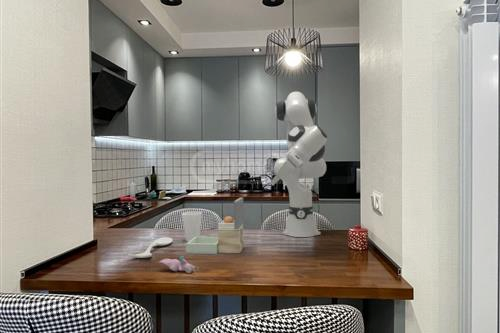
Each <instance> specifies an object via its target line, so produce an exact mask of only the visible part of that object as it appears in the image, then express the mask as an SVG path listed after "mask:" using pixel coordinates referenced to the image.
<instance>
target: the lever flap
mask: <svg viewBox="0 0 500 333" xmlns="http://www.w3.org/2000/svg"><path fill="white" fill-rule="evenodd" d="M244 208H245V207H244V197H239V198H237V199H235V200H234V201H233V223H224V220H221V222H218V224H217V225H218V228H217V230H218V231H219V230H240V229H241V228H242V227H243V228H244V226H243V225H244V224H245V218H244V217H245V214H244V213H245V212H244V211H245V210H244Z"/></svg>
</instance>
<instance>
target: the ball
mask: <svg viewBox="0 0 500 333" xmlns="http://www.w3.org/2000/svg"><path fill="white" fill-rule="evenodd" d="M223 221H224V223H233V221H234V217H232V216H230V215H228V216H225V217H224V218H223Z"/></svg>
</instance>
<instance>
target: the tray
mask: <svg viewBox="0 0 500 333" xmlns="http://www.w3.org/2000/svg"><path fill="white" fill-rule="evenodd" d="M185 254H187V255H188V254H197V255H199V254H200V255H201V254H204V255H217V254H218V236H200V237H194V238H193V239H192V240H190V241H187V242H186V243H185Z"/></svg>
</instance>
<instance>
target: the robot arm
mask: <svg viewBox="0 0 500 333" xmlns="http://www.w3.org/2000/svg"><path fill="white" fill-rule="evenodd" d="M317 111H318V107H317V104H316V101H315V100H314V99H313V98H312V99H311V98H306V96H305V95H304V94H303V92H300V91H292V92H290V93H289V94H288V96H287V97H286V99H285V100H280V101H278V102H277V103H276V104H275V107H274V115H275V117H276V119H277V120H278V121H281V122H285V121H289V122H288V124H287V128H286V144H287V145H286V146H287V151H286V153H285V154H284V156H285V157H281V158H278V159H276V160H275V163H274V166H273V170H274V173H275V176H274V177H273V178H272V180H271V181H270V182H269V184H270V185H271V186H274V185H275V184H276V183H277V182H279V181H280V180H281V181H283V183H284V185H285V186H286V187H287V190H288V196H289V206H288V216H287V217H286V218H285V223H286V224H285V227H286V228H285V230H283V231H282V235H284V236H290V237H294V238H296V237H297V238H311V237H314V236H319V235H320V236H321V235H322V234H321V231H319V230H318V228H317V226H318V225H317V217H315V215H314V206H313V192H312V190H311V189H310V187H308V186H306V185H304V184H302V183H300V181H299V180H300V179H317V178H320V177H323V176H324V175H325V173H326V172H327V164H326V161H325V159H323V157H324V155H325V151H326V146H325V144H326V143H327V142H328V135H327V133H326V132H325V131H324V130H323V129H322V128H321V127H320V126H319V125H317V124H316V125H315V124H314V120H313V119H314V118H315V117H316V114H317Z"/></svg>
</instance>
